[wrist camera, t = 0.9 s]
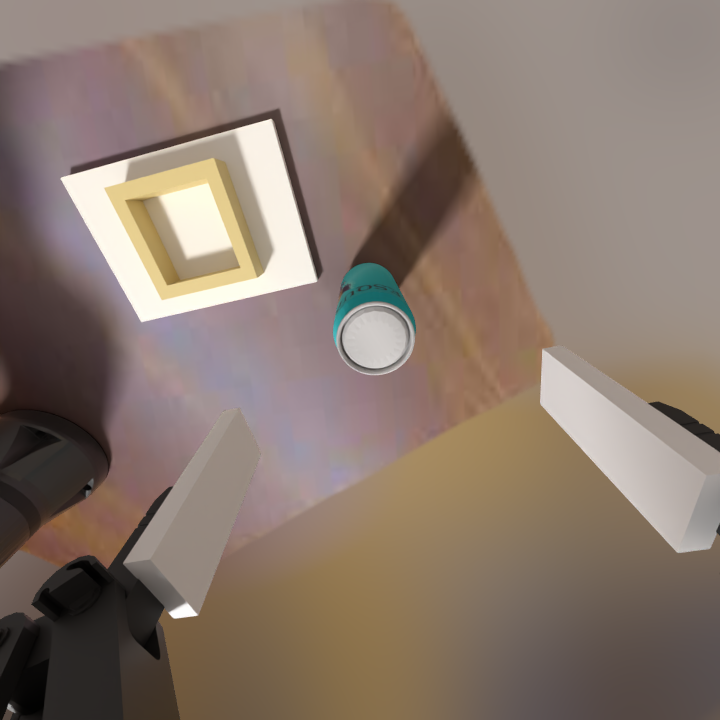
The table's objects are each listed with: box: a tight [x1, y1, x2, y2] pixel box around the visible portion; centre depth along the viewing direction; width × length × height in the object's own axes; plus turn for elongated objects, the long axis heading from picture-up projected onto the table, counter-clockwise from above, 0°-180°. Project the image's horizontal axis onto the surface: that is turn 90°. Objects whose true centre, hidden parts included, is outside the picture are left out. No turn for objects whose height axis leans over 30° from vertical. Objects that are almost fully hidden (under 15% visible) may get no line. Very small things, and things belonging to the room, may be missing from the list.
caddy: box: [61, 119, 318, 322], centre depth 29 cm, size 20×14×4 cm
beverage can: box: [333, 263, 416, 375], centre depth 27 cm, size 6×6×15 cm
